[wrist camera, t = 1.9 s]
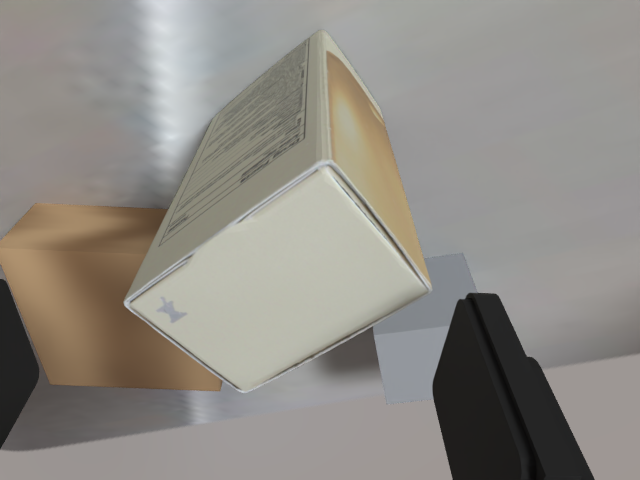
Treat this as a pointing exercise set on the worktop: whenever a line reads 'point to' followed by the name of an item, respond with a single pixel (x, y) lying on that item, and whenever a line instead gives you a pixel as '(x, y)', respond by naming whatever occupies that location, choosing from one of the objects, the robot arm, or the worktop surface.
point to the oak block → (92, 298)
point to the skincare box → (284, 227)
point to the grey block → (421, 332)
